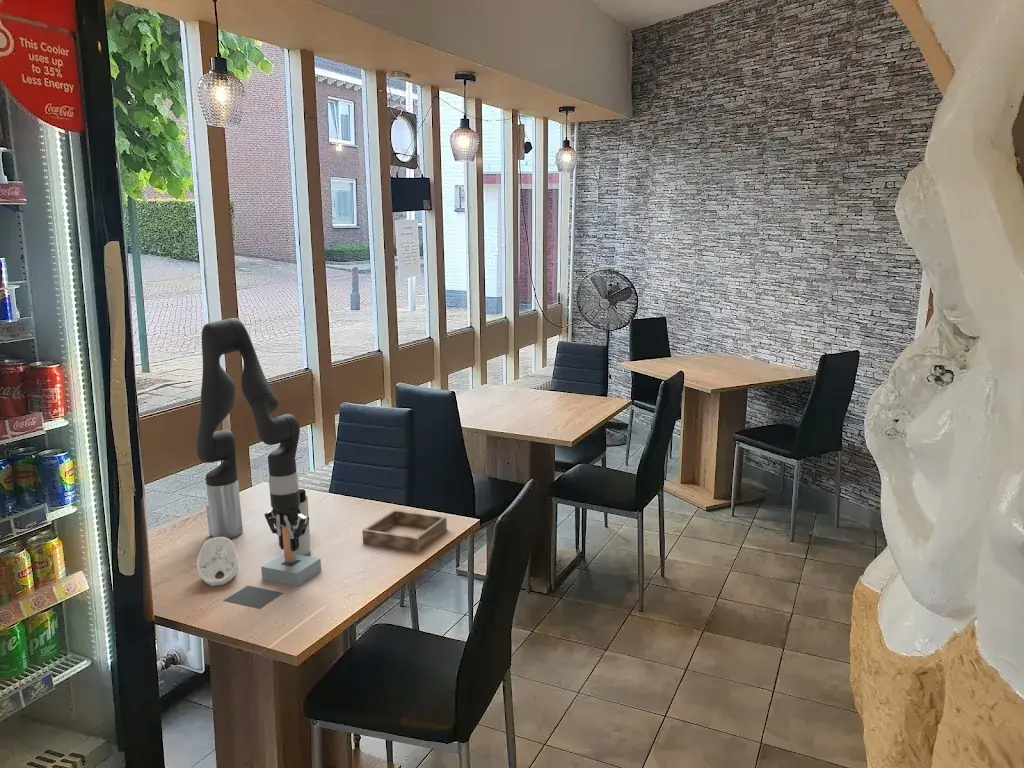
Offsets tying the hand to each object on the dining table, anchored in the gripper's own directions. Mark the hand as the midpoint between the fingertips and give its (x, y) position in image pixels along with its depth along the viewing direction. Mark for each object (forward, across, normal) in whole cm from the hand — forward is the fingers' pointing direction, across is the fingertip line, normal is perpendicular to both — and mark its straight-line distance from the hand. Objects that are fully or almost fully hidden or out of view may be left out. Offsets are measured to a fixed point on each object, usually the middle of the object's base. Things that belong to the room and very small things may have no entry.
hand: (289, 549), depth 208 cm
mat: (+8, -1, -14) cm, 16 cm away
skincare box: (+8, -18, +25) cm, 32 cm away
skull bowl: (+8, -18, -8) cm, 21 cm away
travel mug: (+8, -7, +12) cm, 16 cm away
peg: (+3, 0, 0) cm, 3 cm away
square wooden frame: (+8, +15, +35) cm, 39 cm away
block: (+8, 0, 0) cm, 8 cm away
